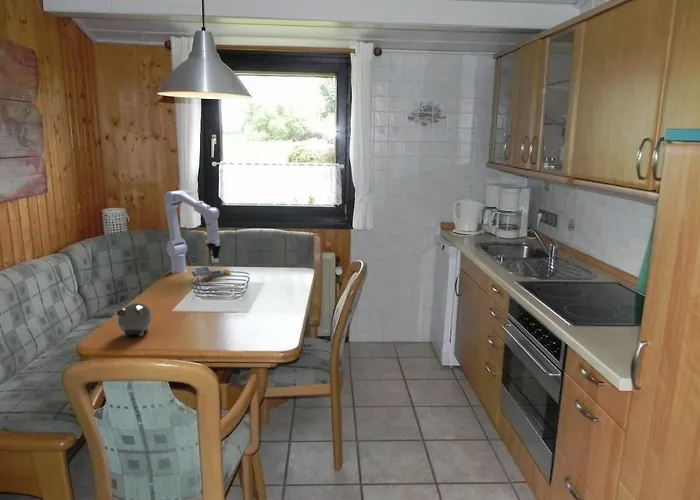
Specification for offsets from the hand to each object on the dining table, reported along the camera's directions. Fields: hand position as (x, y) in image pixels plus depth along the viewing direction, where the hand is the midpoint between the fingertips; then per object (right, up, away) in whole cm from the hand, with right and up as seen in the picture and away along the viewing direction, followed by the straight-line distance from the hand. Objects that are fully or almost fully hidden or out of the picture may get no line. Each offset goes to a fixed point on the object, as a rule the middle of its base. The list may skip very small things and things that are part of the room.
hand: (214, 257), depth 275 cm
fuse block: (+3, -10, +3) cm, 10 cm away
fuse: (0, -2, 0) cm, 2 cm away
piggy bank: (-9, -27, -79) cm, 84 cm away
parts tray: (-9, -9, +9) cm, 15 cm away
